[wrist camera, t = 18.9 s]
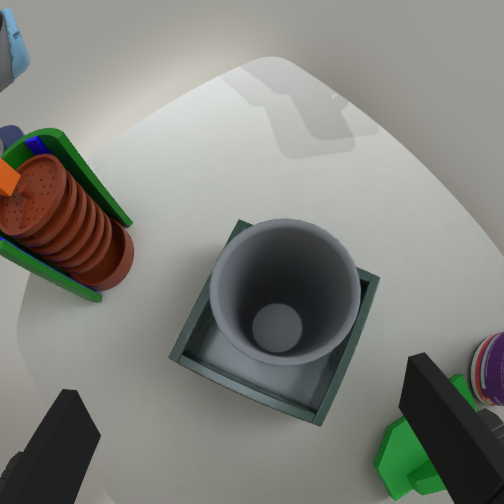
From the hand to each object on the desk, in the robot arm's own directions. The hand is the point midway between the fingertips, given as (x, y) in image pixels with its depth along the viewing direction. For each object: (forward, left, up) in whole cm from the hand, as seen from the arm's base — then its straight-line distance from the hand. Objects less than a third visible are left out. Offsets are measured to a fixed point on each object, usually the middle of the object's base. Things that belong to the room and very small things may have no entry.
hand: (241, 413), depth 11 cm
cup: (-1, +5, -17) cm, 18 cm away
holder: (-1, +6, -17) cm, 18 cm away
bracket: (+18, +1, -18) cm, 25 cm away
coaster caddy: (-21, +4, -18) cm, 28 cm away
